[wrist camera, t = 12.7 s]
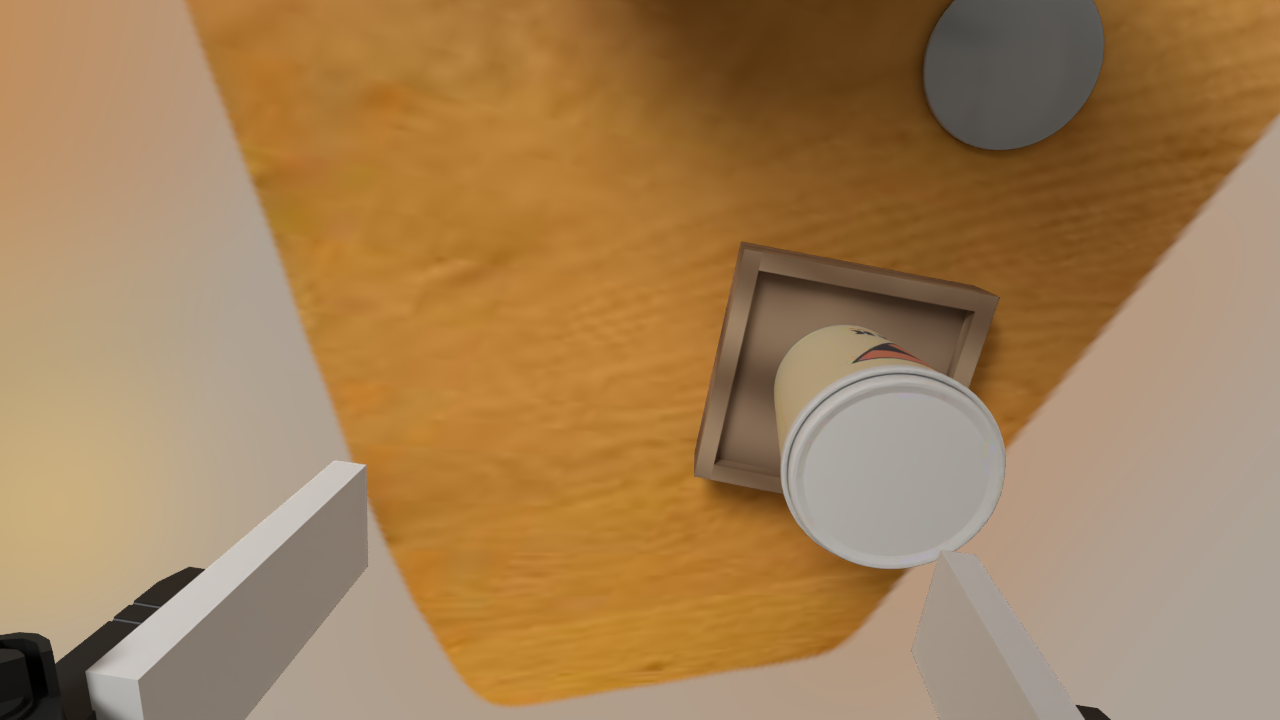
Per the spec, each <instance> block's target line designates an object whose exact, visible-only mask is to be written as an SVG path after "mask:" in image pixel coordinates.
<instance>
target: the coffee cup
mask: <svg viewBox="0 0 1280 720" xmlns="http://www.w3.org/2000/svg"><path fill="white" fill-rule="evenodd" d="M774 402H775V412H776V422H777V432H778V440H779V449H780V457H781V471H780V472H781V484H782V489H783V494H784V497H785V500H786V503H787V505H788V507H789V509H790V512H791V514H792V515H793V517H794V519H795V520H796V522H797V523H798V525H799V526H800V527H801V528H802V530H803V531H804V532H805V533H806V534H807V535H808V536H809V537H810V538H811V539H812V540H813V541H815V542H816V543H817V544H818V545H820V546H821V547H822V548H824V549H826V550H827V551H829V552H831V553H833V554H835V555H837V556H839V557H841V558H843V559H845V560H847V561H850V562H853V563H855V564H858V565H863V566H867V567H872V568H880V569H902V568H911V567H916V566H920V565H924V564H927V563H931V562H934V561H936V560H938V557H939V554H940V550H946V551H953V552H954V551H956V550H957V549H959V548H960V547H962V546H963V545H964V544H966V543H967V542H968V541H969V540H971V539H972V538H973V537H974V536H975V535H976V534H977V533H978V532H979V531H980V530H981V528H982V527H983V526H984V525H985V524H986V522H987V521H988V519H989V518H990V516H991V515H992V513H993V511H994V509H995V507H996V505H997V503H998V501H999V498H1000V495H1001V492H1002V488H1003V483H1004V476H1005V467H1006V461H1005V460H1006V456H1005V448H1004V442H1003V438H1002V435H1001V432H1000V430H999V427H998V425H997V423H996V421H995V419H994V417H993V415H992V414H991V412H990V411H989V410H988V408H987V407H986V406H985V404H984V403H983V402H982V401H981V400H980V399H979V398H978V397H977V396H976V395H975V394H974V393H973V392H972V391H971V390H969V389H968V388H967V387H965V386H964V385H962V384H961V383H959V382H958V381H956V380H954V379H952V378H950V377H948V376H946V375H944V374H942V373H939V372H938V371H937V370H935V369H934V368H932V367H931V366H929V365H928V364H926V363H925V362H923V361H922V360H920V359H918V358H917V357H915V356H914V355H912V354H911V353H909V352H908V351H906V350H904V349H903V348H901V347H900V346H898V345H897V344H895V343H894V342H892V341H890V340H889V339H887V338H885V337H884V336H882V335H880V334H878V333H876V332H874V331H872V330H869V329H867V328H864V327H859V326H853V325H836V326H830V327H825V328H822V329H819V330H817V331H814V332H812V333H810V334H809V335H807V336H805V337H804V338H802V339H801V340H800V341H798V342H797V343H796V344H795V345H794V346H793V347H792V348H791V349H790V350H789V351H788V353H787V354H786V355H785V357H784V358H783V360H782V362H781V364H780V366H779V368H778V371H777V374H776V378H775V383H774Z"/></svg>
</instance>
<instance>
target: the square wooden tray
mask: <svg viewBox="0 0 1280 720" xmlns="http://www.w3.org/2000/svg"><path fill="white" fill-rule="evenodd" d="M999 298H1000V297H998V296H996V295H993V294H991V293H989V292H987V291H985V290H982V289H980V288H978V287H976V286H973V285H967V284H962V283H957V282H951V281H946V280H941V279H936V278H930V277H925V276H920V275H914V274H909V273H904V272H899V271H893V270H888V269H883V268H877V267H872V266H867V265H862V264H856V263H851V262H846V261H840V260H835V259H830V258H825V257H819V256H814V255H809V254H803V253H798V252H793V251H788V250H782V249H777V248H772V247H766V246H761V245H756V244H751V243H745V242H741V245H740V249H739V254H738V258H737V263H736V267H735V272H734V276H733V281H732V285H731V290H730V295H729V299H728V304H727V308H726V313H725V317H724V322H723V326H722V331H721V335H720V340H719V344H718V349H717V354H716V358H715V363H714V367H713V372H712V376H711V381H710V385H709V390H708V394H707V399H706V403H705V408H704V413H703V417H702V422H701V426H700V431H699V435H698V440H697V444H696V449H695V461H694V476H695V477H700V478H705V479H710V480H715V481H720V482H725V483H730V484H735V485H740V486H745V487H750V488H755V489H760V490H765V491H770V492H775V493H780V494H783V489H782V484H781V472H780V471H781V457H780V449H779V440H778V432H777V422H776V412H775V402H774V383H775V378H776V374H777V371H778V368H779V366H780V364H781V362H782V360H783V358H784V357H785V355H786V354H787V353H788V351H789V350H790V349H791V348H792V347H793V346H794V345H795V344H796V343H797V342H798V341H800V340H801V339H802V338H804V337H805V336H807V335H809V334H810V333H812V332H814V331H817V330H819V329H822V328H825V327H830V326H836V325H853V326H859V327H864V328H867V329H869V330H872V331H874V332H876V333H878V334H880V335H882V336H884V337H885V338H887V339H889V340H890V341H892V342H894V343H895V344H897V345H898V346H900V347H901V348H903V349H904V350H906V351H908V352H909V353H911V354H912V355H914V356H915V357H917V358H918V359H920V360H922V361H923V362H925V363H926V364H928V365H929V366H931V367H932V368H934V369H935V370H937V371H938V372H939V373H942V374H944V375H946V376H948V377H950V378H952V379H954V380H956V381H958V382H959V383H961V384H962V385H964V386H965V387H967V388H969V386H970V383H971V380H972V377H973V374H974V371H975V368H976V365H977V362H978V359H979V356H980V353H981V350H982V348H983V345H984V342H985V339H986V336H987V333H988V330H989V327H990V324H991V321H992V318H993V315H994V312H995V310H996V307H997V304H998V301H999Z"/></svg>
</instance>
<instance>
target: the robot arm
mask: <svg viewBox="0 0 1280 720" xmlns="http://www.w3.org/2000/svg"><path fill="white" fill-rule="evenodd" d="M367 544H368V541H367V475H366V465H363V464H356V463H349V462H342V461H336V460H334V461H333V462H332V463H331V464H329V465H328V466H327V467H326V468H325V469H324V470H323V471H321V472H320V473H319V474H318V475H317V476H315V477H314V478H313V479H312V480H311V481H309V482H308V483H307V484H306V485H305V486H303V487H302V488H301V489H300V490H299V491H298V492H296V493H295V494H294V495H293V496H292V497H291V498H289V499H288V500H287V501H286V502H285V503H283V504H282V505H281V506H280V507H279V508H278V509H276V510H275V511H274V512H273V513H272V514H271V515H269V516H268V517H267V518H266V519H265V520H263V521H262V522H261V523H260V524H259V525H257V526H256V527H255V528H254V529H253V530H252V531H251V532H249V533H248V534H247V535H246V536H245V537H243V538H242V539H241V540H240V541H239V542H238V543H236V544H235V545H234V546H233V547H232V548H230V549H229V550H228V551H227V552H226V553H225V554H223V555H222V556H221V557H220V558H219V559H218V560H216V561H215V562H214V563H213V564H211V565H210V566H209V567H208V568H207V569H201V568H194V567H188V568H186V569H184V570H182V571H180V572H178V573H175V574H173V575H171V576H169V577H167V578H165V579H163V580H161V581H159V582H157V583H156V584H155V585H153V586H152V587H151V588H150V589H148V590H147V591H146V592H145V593H144V594H142V595H141V596H140V597H139V598H137V599H136V600H135V601H134V604H133V605H128V606H127V607H126V608H125V609H123V610H122V611H121V612H120V613H118V614H117V615H116V616H115V617H114V620H113V621H108V622H107V623H106V624H105V625H103V626H102V627H101V628H100V629H98V630H97V631H96V632H95V633H93V634H92V635H91V636H90V637H88V638H87V639H86V640H84V641H83V642H82V643H81V644H79V645H78V646H77V647H76V648H74V649H73V650H72V651H71V652H69V653H68V654H67V655H66V656H64V657H63V658H62V659H61V660H59V661H58V662H57V663H56V664H55V661H54V656H53V651H52V648H51V644H50V640H49V639H47V638H45V637H43V636H41V635H39V634H36V633H21V632H18V633H12V634H5V635H0V720H245V719H246V717H247V716H248V715H249V714H250V712H251V711H252V710H253V709H254V707H255V706H256V705H257V703H258V702H259V701H260V700H261V699H262V698H263V696H264V695H265V694H266V693H267V691H268V690H269V689H270V688H271V686H272V685H273V684H274V683H275V681H276V680H277V679H278V678H279V676H280V675H281V674H282V673H283V671H284V670H285V669H286V668H287V666H288V665H289V664H290V663H291V661H292V660H293V659H294V658H295V656H296V655H297V654H298V653H299V651H300V650H301V649H302V648H303V646H304V645H305V644H306V643H307V641H308V640H309V639H310V638H311V636H312V635H313V634H314V633H315V631H316V630H317V629H318V628H319V626H320V625H321V624H322V623H323V621H324V620H325V619H326V618H327V617H328V615H329V614H330V613H331V612H332V610H333V609H334V608H335V607H336V605H337V604H338V603H339V602H340V600H341V599H342V598H343V597H344V595H345V594H346V593H347V592H348V590H349V589H350V588H351V586H352V585H353V584H354V583H355V582H356V580H357V579H358V578H359V577H360V575H361V574H362V573H363V572H364V570H365V569H366V568H367V567H368V545H367ZM911 651H912V654H913V656H914V659H915V661H916V664H917V666H918V668H919V671H920V673H921V676H922V678H923V681H924V683H925V685H926V688H927V691H928V693H929V695H930V698H931V700H932V703H933V705H934V708H935V710H936V713H937V715H938V718H939V720H1110V719H1109V718H1108V717H1107V716H1106V715H1105V714H1104V713H1102V711H1100V710H1099V709H1098V708H1093V707H1086V706H1080V705H1075V704H1074V702H1073V701H1072V699H1071V698H1070V696H1069V695H1068V693H1067V692H1066V690H1065V689H1064V687H1063V686H1062V684H1061V683H1060V681H1059V680H1058V678H1057V677H1056V675H1055V674H1054V672H1053V671H1052V669H1051V668H1050V666H1049V665H1048V663H1047V662H1046V660H1045V659H1044V657H1043V656H1042V654H1041V653H1040V651H1039V650H1038V648H1037V647H1036V646H1035V644H1034V642H1033V641H1032V639H1031V637H1030V636H1029V634H1028V633H1027V631H1026V630H1025V628H1024V627H1023V625H1022V624H1021V622H1020V621H1019V620H1018V618H1017V616H1016V615H1015V613H1014V612H1013V610H1012V609H1011V607H1010V606H1009V604H1008V603H1007V601H1006V600H1005V598H1004V597H1003V595H1002V594H1001V593H1000V591H999V589H998V588H997V586H996V585H995V583H994V582H993V580H992V579H991V577H990V576H989V574H988V572H987V571H986V569H985V568H984V566H983V565H982V563H981V562H980V561H979V559H978V557H977V556H976V555H973V554H966V553H959V552H953V551H946V550H940V554H939V557H938V561H937V564H936V568H935V571H934V575H933V578H932V582H931V585H930V588H929V592H928V595H927V598H926V602H925V606H924V609H923V612H922V616H921V619H920V623H919V626H918V629H917V633H916V636H915V640H914V643H913V647H912V650H911Z"/></svg>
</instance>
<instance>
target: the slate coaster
mask: <svg viewBox="0 0 1280 720" xmlns="http://www.w3.org/2000/svg"><path fill="white" fill-rule="evenodd" d="M1103 55H1104V32H1103V26H1102V22H1101V18H1100V15H1099V12H1098V10H1097V7H1096V5H1095V4H1094V2H1093V0H954V1H953V2H952V3H951V4H950V5H949V6H948V7H947V9H946V10H945V11H944V13H943V14H942V15H941V17H940V18H939V20H938V22H937V23H936V25H935V27H934V29H933V31H932V33H931V35H930V38H929V40H928V43H927V46H926V50H925V55H924V59H923V70H922V76H923V87H924V93H925V97H926V100H927V103H928V106H929V108H930V110H931V112H932V114H933V116H934V117H935V119H936V120H937V122H938V123H939V124H940V125H941V126H942V127H943V128H944V130H945V131H947V132H948V133H949V134H950V135H951V136H953V137H954V138H956V139H958V140H959V141H961V142H963V143H965V144H968V145H970V146H973V147H977V148H981V149H988V150H1009V149H1016V148H1021V147H1025V146H1028V145H1031V144H1034V143H1036V142H1039V141H1041V140H1043V139H1045V138H1047V137H1048V136H1050V135H1052V134H1054V133H1055V132H1056V131H1058V130H1059V129H1061V128H1062V127H1063V126H1064V125H1065V124H1067V123H1068V122H1069V121H1070V120H1071V119H1072V118H1073V117H1074V116H1075V115H1076V114H1077V112H1078V111H1079V110H1080V109H1081V108H1082V106H1083V105H1084V103H1085V102H1086V101H1087V99H1088V97H1089V96H1090V94H1091V92H1092V90H1093V88H1094V86H1095V84H1096V81H1097V79H1098V77H1099V73H1100V70H1101V66H1102V61H1103Z"/></svg>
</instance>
